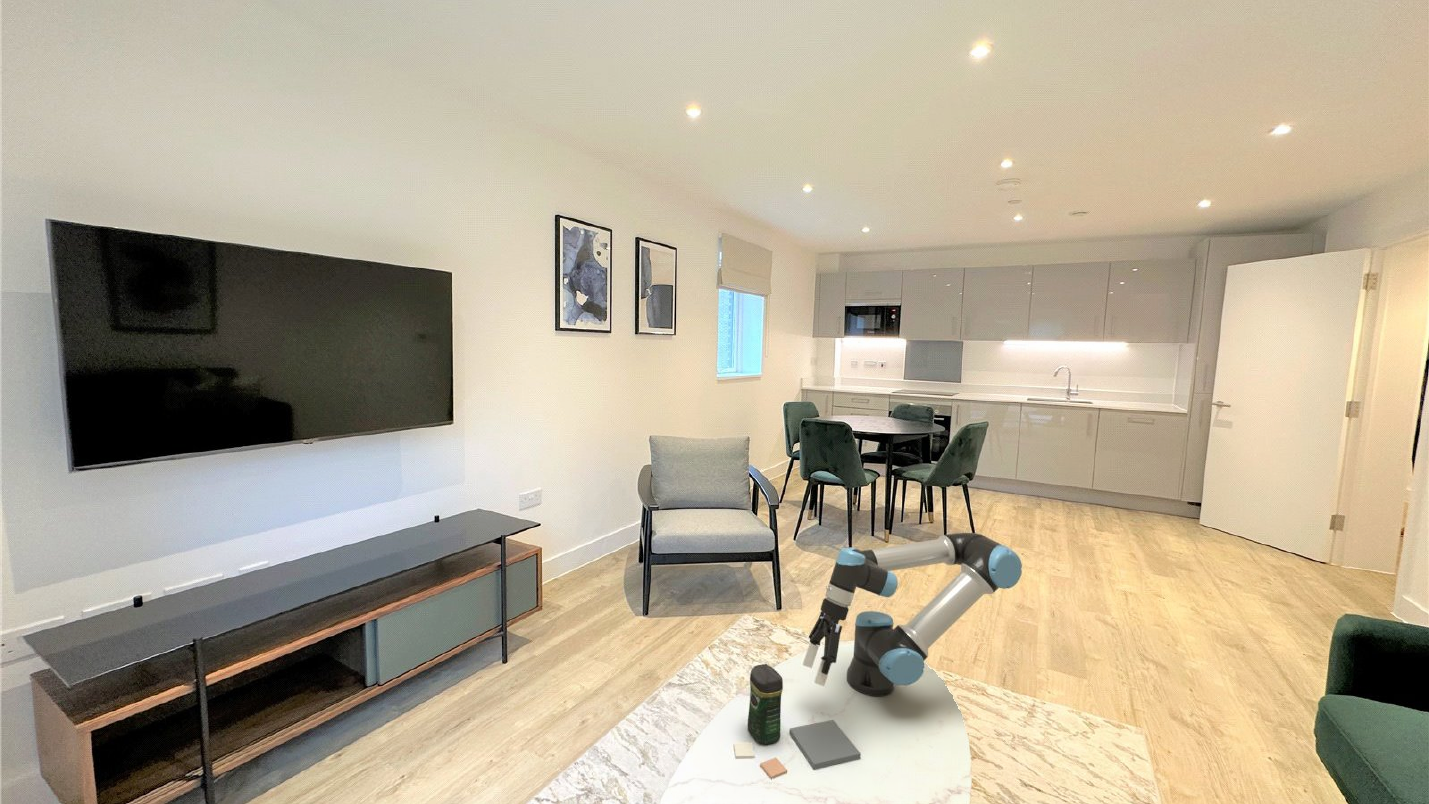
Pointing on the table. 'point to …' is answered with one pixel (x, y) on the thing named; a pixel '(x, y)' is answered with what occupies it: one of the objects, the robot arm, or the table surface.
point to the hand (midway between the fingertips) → (812, 675)
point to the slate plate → (824, 744)
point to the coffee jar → (765, 704)
